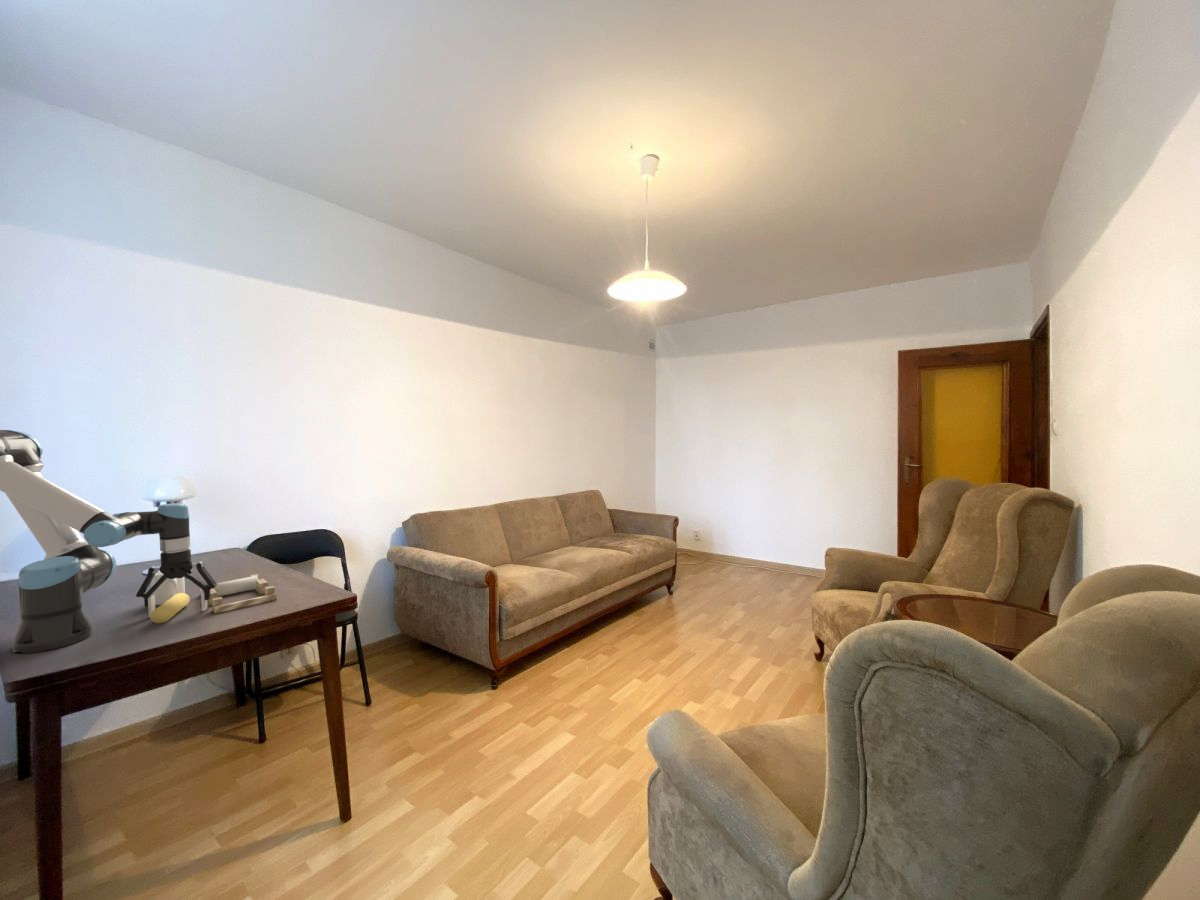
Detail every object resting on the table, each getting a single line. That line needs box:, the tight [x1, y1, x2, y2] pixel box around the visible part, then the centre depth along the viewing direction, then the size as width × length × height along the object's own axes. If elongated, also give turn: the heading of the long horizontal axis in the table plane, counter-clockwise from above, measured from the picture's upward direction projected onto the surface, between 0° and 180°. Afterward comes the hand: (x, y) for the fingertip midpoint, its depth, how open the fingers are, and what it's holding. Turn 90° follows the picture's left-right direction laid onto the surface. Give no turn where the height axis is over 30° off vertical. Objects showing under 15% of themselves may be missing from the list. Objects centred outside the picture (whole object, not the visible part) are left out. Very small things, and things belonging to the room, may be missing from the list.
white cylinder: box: [212, 576, 260, 598], centre depth 178 cm, size 15×5×5 cm, turn 139°
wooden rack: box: [199, 573, 278, 615], centre depth 173 cm, size 18×27×4 cm, turn 48°
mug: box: [151, 571, 186, 606], centre depth 168 cm, size 9×12×11 cm
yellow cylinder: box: [150, 592, 191, 624], centre depth 157 cm, size 15×5×5 cm
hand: (179, 613), depth 158 cm, fingers open, 13 cm apart
